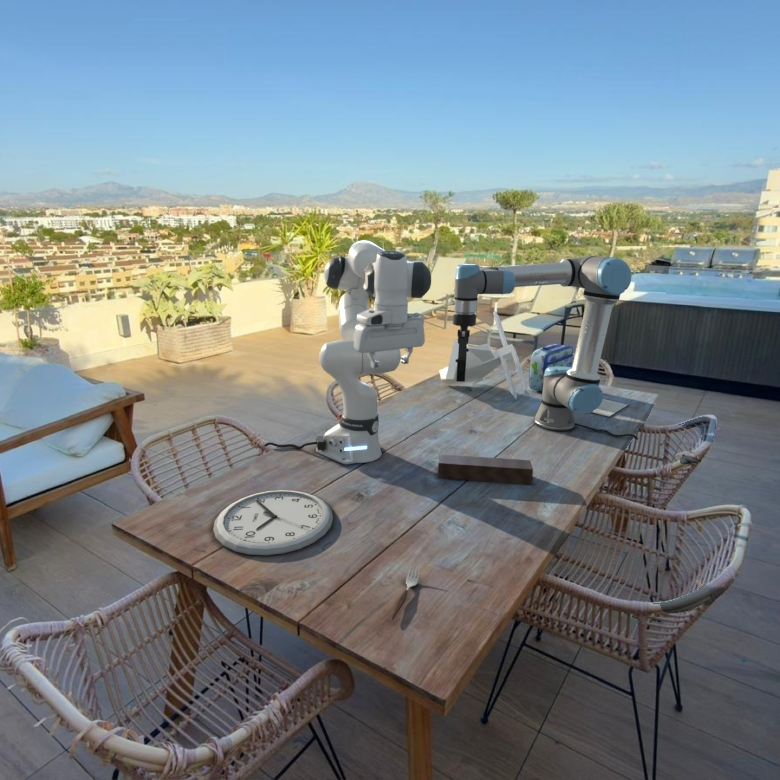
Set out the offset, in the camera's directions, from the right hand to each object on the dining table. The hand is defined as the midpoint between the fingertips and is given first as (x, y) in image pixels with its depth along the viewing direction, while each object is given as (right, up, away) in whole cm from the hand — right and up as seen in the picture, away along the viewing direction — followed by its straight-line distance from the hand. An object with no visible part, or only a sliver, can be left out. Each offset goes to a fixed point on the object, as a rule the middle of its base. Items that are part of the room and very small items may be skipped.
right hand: (461, 375), depth 176 cm
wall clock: (-54, -39, -41) cm, 78 cm away
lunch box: (+52, -4, +75) cm, 92 cm away
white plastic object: (+18, -6, +67) cm, 70 cm away
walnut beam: (+5, -31, -15) cm, 35 cm away
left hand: (-24, +2, -34) cm, 42 cm away
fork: (-21, -48, -68) cm, 85 cm away
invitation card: (+68, -12, +50) cm, 85 cm away
